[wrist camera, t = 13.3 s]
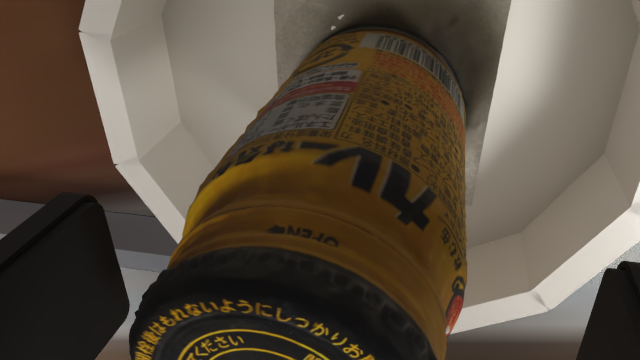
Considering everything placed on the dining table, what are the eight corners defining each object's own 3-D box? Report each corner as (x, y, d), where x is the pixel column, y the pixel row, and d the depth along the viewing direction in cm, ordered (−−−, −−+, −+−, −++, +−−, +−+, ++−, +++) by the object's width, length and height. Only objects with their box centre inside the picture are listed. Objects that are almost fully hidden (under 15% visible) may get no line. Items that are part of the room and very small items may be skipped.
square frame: (247, 444, 32) (232, 483, 30) (15, 396, 36) (-12, 428, 34) (210, 223, 24) (186, 258, 22) (-92, 188, 27) (-138, 215, 25)
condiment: (282, 178, 21) (115, 476, 11) (273, -54, 16) (-29, 80, 6) (471, 202, 19) (485, 570, 9) (518, -44, 15) (645, 148, 5)
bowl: (584, 289, 21) (608, 369, 18) (191, 240, 24) (149, 299, 21) (759, -262, 12) (874, -311, 9) (103, -216, 16) (6, -237, 12)
